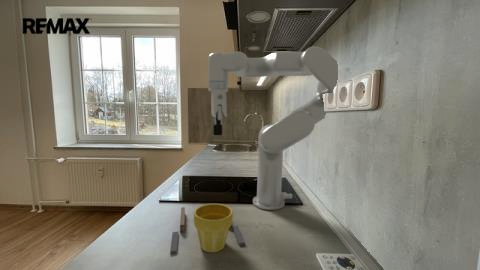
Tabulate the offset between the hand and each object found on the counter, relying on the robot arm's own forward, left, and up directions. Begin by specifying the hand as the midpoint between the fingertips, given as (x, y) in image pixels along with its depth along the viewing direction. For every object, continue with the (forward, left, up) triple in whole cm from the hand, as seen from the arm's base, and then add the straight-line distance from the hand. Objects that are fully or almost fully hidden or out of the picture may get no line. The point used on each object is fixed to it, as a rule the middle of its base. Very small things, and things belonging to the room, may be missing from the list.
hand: (217, 134), depth 86 cm
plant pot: (+5, +29, -27) cm, 40 cm away
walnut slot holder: (+6, +15, -27) cm, 32 cm away
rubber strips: (+6, +26, -27) cm, 38 cm away
